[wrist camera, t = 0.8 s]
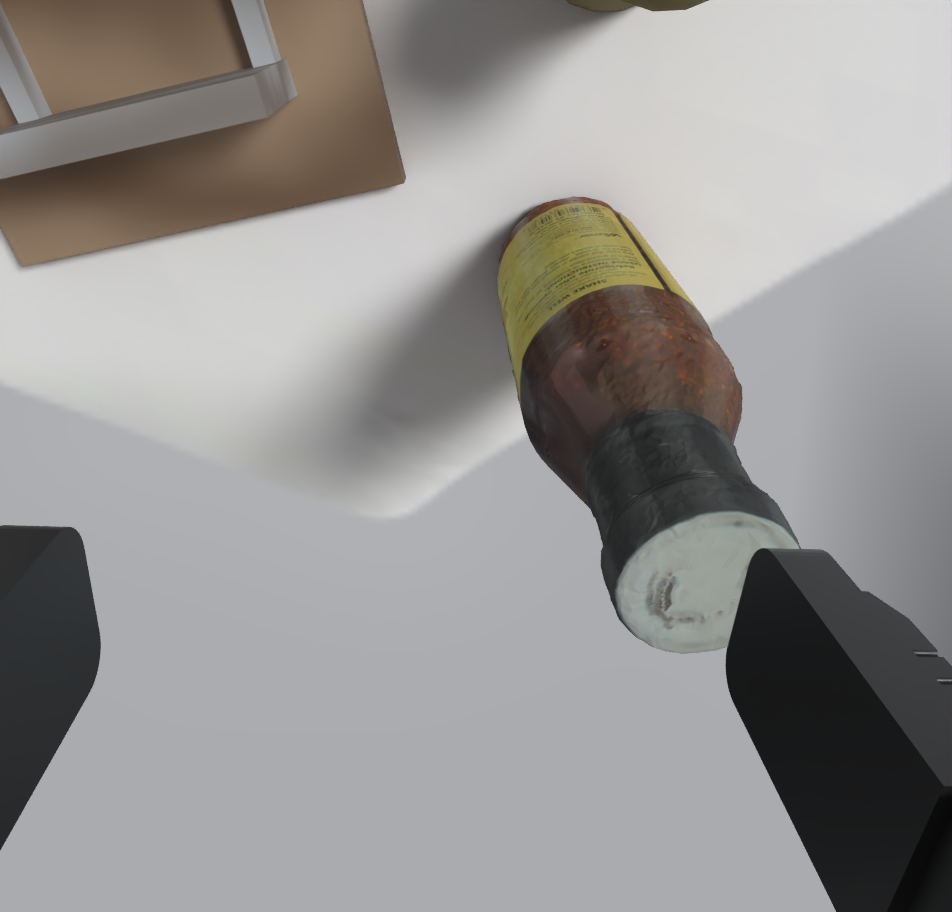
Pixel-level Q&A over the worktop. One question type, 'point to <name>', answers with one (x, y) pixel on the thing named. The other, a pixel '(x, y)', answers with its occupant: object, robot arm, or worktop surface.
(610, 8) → the olive rounded bulbous part
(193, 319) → the worktop surface
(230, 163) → the shaker holder
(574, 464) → the sauce bottle
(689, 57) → the worktop surface
